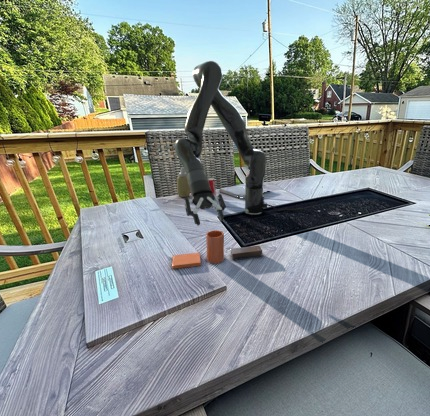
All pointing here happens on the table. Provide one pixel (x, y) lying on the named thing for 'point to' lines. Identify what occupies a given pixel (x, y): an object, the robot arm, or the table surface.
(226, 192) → the notebook
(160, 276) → the table surface
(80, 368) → the table surface
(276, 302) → the table surface
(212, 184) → the soda can
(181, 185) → the squeeze bottle
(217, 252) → the pot
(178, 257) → the orange rectangular slab
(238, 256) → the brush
